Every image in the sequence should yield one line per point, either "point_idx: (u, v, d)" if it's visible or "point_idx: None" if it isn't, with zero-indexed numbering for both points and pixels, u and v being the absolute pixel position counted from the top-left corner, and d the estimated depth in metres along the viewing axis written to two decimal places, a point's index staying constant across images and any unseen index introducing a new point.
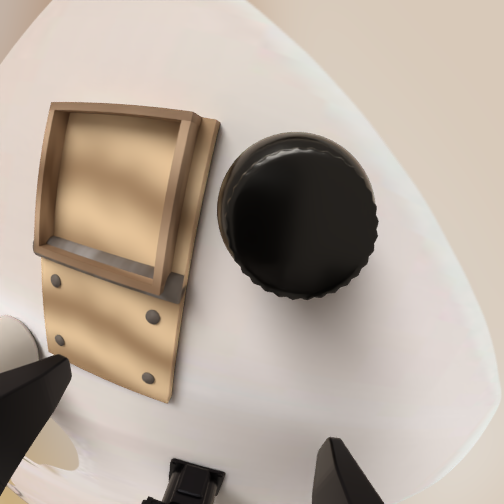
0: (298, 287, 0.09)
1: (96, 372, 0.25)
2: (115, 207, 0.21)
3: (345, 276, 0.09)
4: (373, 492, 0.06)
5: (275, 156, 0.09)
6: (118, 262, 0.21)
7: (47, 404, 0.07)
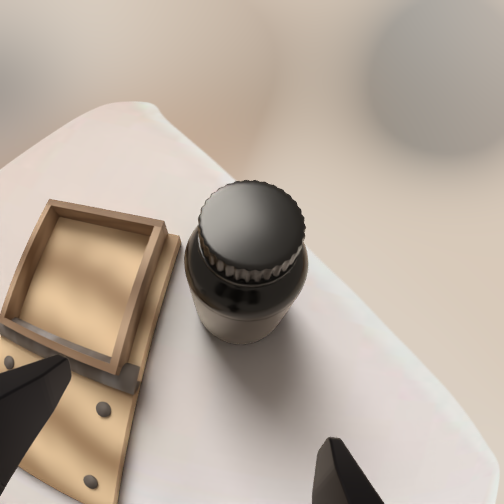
0: (252, 260, 0.12)
1: (32, 471, 0.15)
2: (83, 299, 0.22)
3: (287, 252, 0.13)
4: (373, 493, 0.06)
5: (232, 183, 0.14)
6: (78, 347, 0.19)
7: (47, 404, 0.07)
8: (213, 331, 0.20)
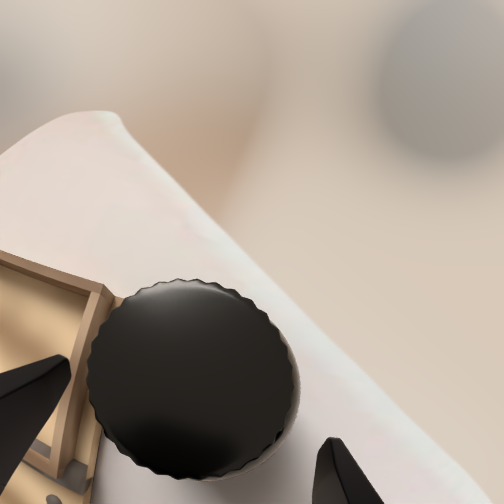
0: (183, 462, 0.05)
1: None
2: None
3: (253, 446, 0.05)
4: (373, 493, 0.06)
5: (150, 288, 0.07)
6: None
7: (47, 404, 0.07)
8: None
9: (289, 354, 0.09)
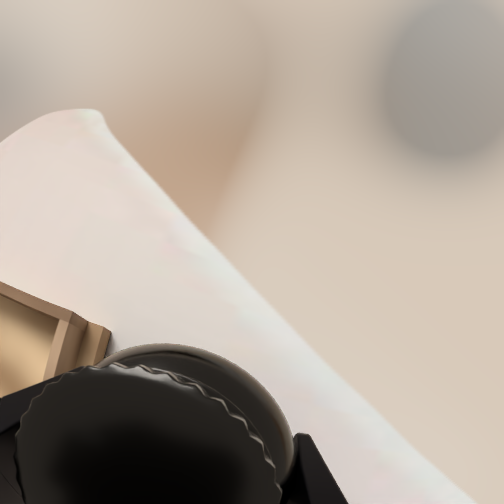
0: None
1: None
2: None
3: None
4: (338, 492, 0.06)
5: (76, 375, 0.04)
6: None
7: None
8: None
9: (282, 430, 0.07)
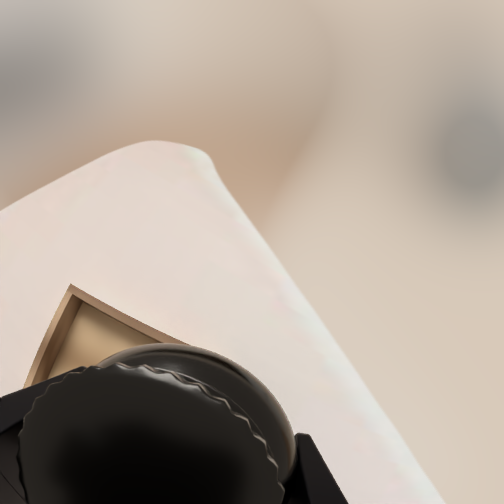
0: None
1: None
2: None
3: None
4: (338, 492, 0.06)
5: (79, 375, 0.04)
6: None
7: None
8: None
9: (284, 430, 0.07)
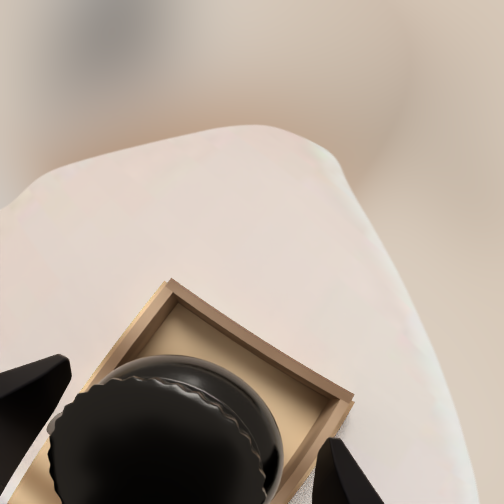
0: None
1: None
2: None
3: None
4: (373, 493, 0.06)
5: (103, 387, 0.05)
6: None
7: (47, 404, 0.07)
8: None
9: (271, 430, 0.08)
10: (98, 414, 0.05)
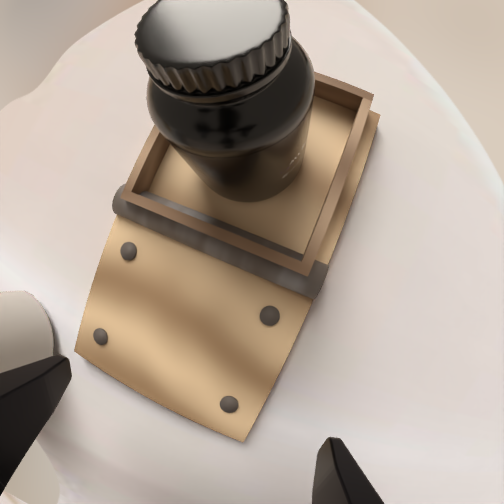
0: (214, 53, 0.07)
1: (144, 390, 0.19)
2: None
3: (265, 33, 0.07)
4: (373, 492, 0.06)
5: None
6: (246, 234, 0.18)
7: (47, 404, 0.07)
8: (220, 191, 0.16)
9: (293, 38, 0.10)
10: None
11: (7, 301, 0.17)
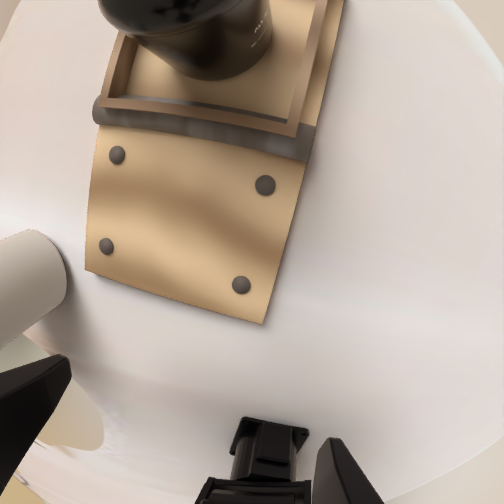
0: None
1: (157, 289, 0.21)
2: None
3: None
4: (373, 492, 0.06)
5: None
6: (227, 109, 0.16)
7: (47, 404, 0.07)
8: (192, 73, 0.14)
9: None
10: None
11: (12, 243, 0.18)
